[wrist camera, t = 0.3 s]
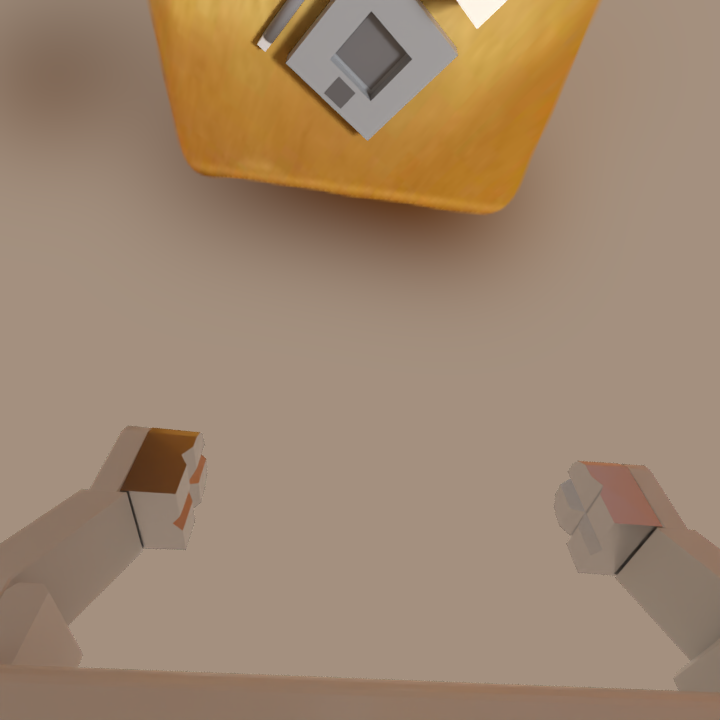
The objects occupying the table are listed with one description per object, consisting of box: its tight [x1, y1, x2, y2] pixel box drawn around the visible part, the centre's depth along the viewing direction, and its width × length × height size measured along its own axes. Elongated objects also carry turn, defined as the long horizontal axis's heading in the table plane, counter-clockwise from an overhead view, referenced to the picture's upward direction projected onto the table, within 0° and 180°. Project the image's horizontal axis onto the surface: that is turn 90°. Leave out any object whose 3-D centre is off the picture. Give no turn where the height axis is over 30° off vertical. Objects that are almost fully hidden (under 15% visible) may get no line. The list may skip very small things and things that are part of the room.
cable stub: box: [257, 0, 304, 52], centre depth 46 cm, size 10×1×1 cm, turn 136°
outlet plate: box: [286, 0, 458, 141], centre depth 49 cm, size 13×12×2 cm
